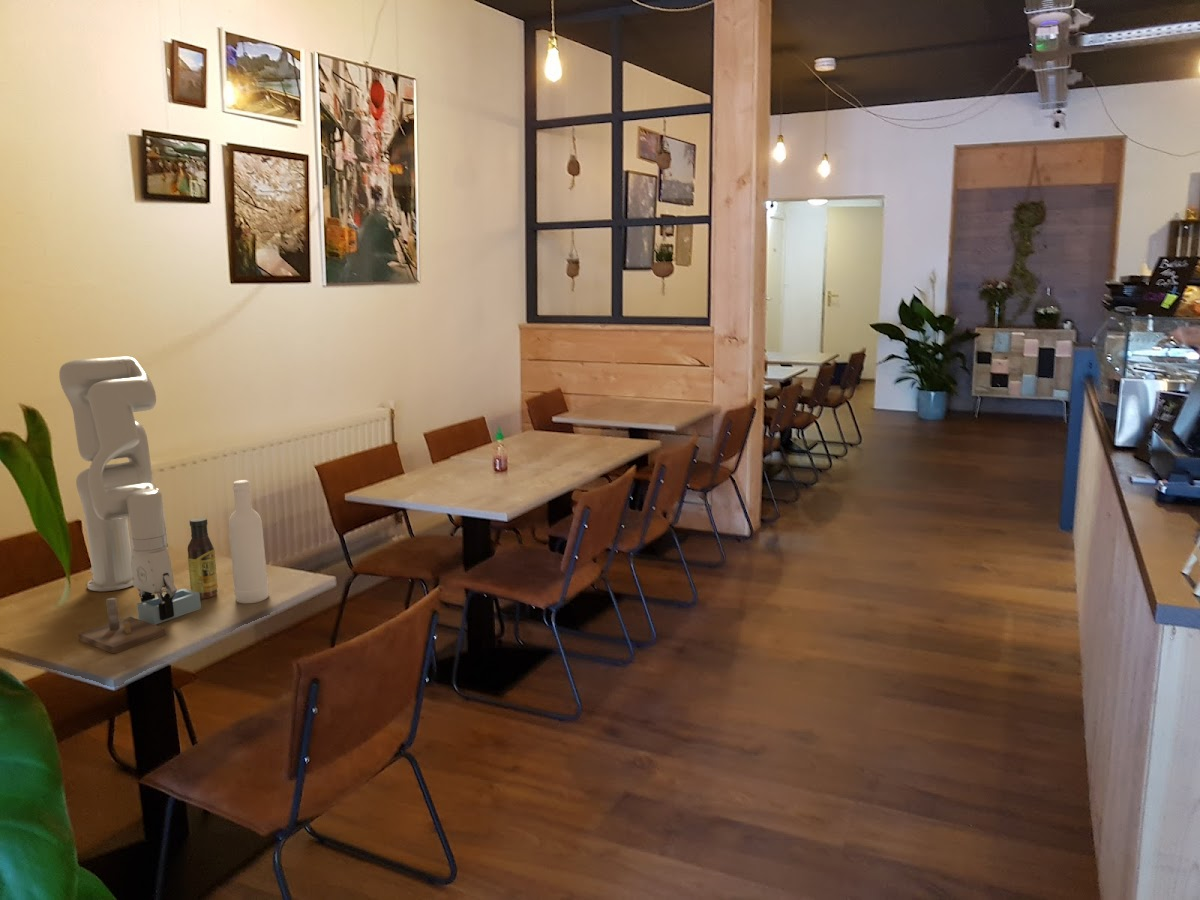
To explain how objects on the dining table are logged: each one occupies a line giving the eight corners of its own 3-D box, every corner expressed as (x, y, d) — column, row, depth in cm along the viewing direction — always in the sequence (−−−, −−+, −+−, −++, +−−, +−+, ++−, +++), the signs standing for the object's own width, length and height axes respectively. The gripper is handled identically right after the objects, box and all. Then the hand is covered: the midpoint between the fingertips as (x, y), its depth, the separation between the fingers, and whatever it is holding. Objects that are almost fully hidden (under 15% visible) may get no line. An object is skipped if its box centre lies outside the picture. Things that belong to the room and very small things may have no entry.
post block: (79, 640, 204) (74, 604, 203) (131, 622, 214) (126, 588, 212) (113, 653, 197) (108, 616, 195) (166, 634, 207) (161, 599, 205)
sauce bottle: (208, 600, 227) (200, 523, 223) (186, 599, 228) (177, 522, 225) (224, 591, 234) (216, 516, 230) (202, 590, 235) (194, 515, 231)
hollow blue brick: (185, 603, 226) (183, 588, 225) (201, 608, 222) (199, 592, 221) (139, 619, 216) (137, 603, 215) (154, 625, 212) (152, 608, 212)
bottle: (243, 592, 233) (232, 477, 227) (274, 592, 232) (263, 477, 226) (230, 604, 225) (217, 485, 219) (261, 603, 225) (250, 485, 219)
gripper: (113, 541, 214) (122, 613, 218) (155, 552, 205) (164, 627, 209) (143, 533, 221) (152, 603, 224) (186, 543, 211) (194, 617, 215)
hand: (158, 614), depth 216 cm, fingers closed on hollow blue brick, 6 cm apart
